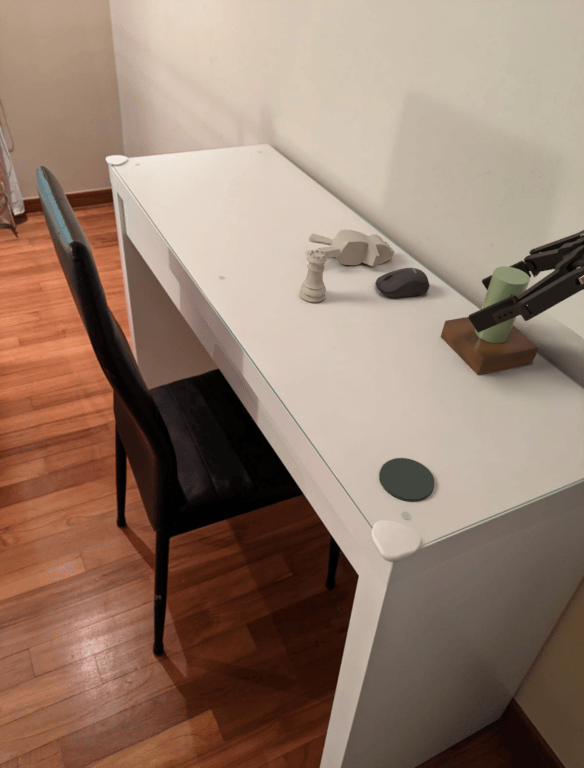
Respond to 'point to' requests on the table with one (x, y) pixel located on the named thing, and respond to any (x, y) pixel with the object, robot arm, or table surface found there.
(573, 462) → the table surface
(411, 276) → the computer mouse
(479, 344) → the walnut platform
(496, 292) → the green round cylinder
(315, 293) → the rook chess piece
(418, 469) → the coaster
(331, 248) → the bunny figurine
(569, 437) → the table surface
